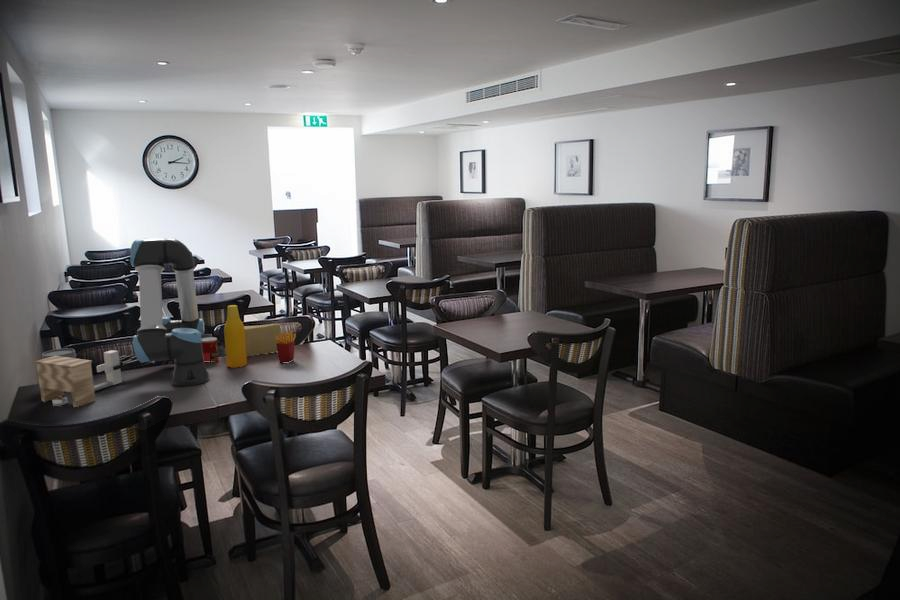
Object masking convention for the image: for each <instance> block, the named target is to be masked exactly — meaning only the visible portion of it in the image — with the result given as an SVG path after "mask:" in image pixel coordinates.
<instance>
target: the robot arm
mask: <svg viewBox="0 0 900 600" xmlns="http://www.w3.org/2000/svg"><path fill="white" fill-rule="evenodd" d="M129 258H130V259H129V261H130V265H131V267H134V271H136V272H137V273H138V280H139V281H138V282H139V284H138V285H139V286H138V287H139V307H140V309H139V311H140V314H139V315H140V327H139V328H138V329H137V331H136V334H135V335H133V336H132V344H133V351H134V353H133V354H130V355H126V354H123V355H121V356H119V361H120V365H119V363H116V364H113V365H110V366H107V367H105V363H102V364H99V365H97V366H96V372H97V373H101V372H103V371H104V374H105V375H106V374H107V373H110V372H113V371H116V370H119V369H121V370H123V369H125V370H128V369H131V368H135V367H137V366H145V365H148V364H151V363H152V364H155V362H160V361H161V362H162V361H171V360H174V368H173V373H172V376H171V383H172V385H173V386H177V387H189V386H190V387H191V386H196V385H201V384H204V383H206V382H208V381H209V380H210V374H209V372H208V370H207V366H206V365H205V362H204V361H203V351H202V335H204V333H205V321H204V319H203V318H200V317H199V311H198V310H199V309H198V301H197V293H196V285H195V275H194V269H195V268H196V265H195V264H196V263H195V259H194V256H193V254H192V251H190V249H189V248H188V247H187V245H185V244H184V243H183V242H182V241H180V240H178V239H176V238H171V237H170V238H169V237H167V238H143V239H135V240H134V241H133V242H132V244H131V246H130V251H129ZM166 265H171V269H172V270H173V271H174V273H175V274H174V275H175V282H176V289H177V297H178V304H179V311H180V316H181V317H180V318H181V319H179V320H178V319H177V320H171V318H170V316H163V296H162V295H163V293H162V273H163V272H164V270H165V266H166Z"/></svg>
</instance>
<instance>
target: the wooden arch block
mask: <svg viewBox="0 0 900 600" xmlns="http://www.w3.org/2000/svg"><path fill="white" fill-rule="evenodd" d="M119 352H120V351H119V350H113V349H111V350H108V351H107V350H106V351H103V361H104V364H105V367H107V366H110V365H113V364H116V363H119V365H120V361H119V357H120V354H119ZM121 370H122V369H119V370H116V371H113V372H110V373H107V374H106V373H105V377H106V381H104V382H102V383H99V384H95V385H94V392H97V391H100V390H102V389H104V388H108V387H111V386H114V385H117V384H121V383H123V378H122V371H121Z"/></svg>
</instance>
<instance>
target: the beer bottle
mask: <svg viewBox="0 0 900 600" xmlns="http://www.w3.org/2000/svg"><path fill="white" fill-rule="evenodd" d="M226 315H227V317H226V321H225V323H224V327H223V335H224V347H225V360H226V366H227V368H229V367H231V368H230V369H238V368H237V367H240V368H243V366H244V367H246V366H247V365H246V364H248V359H247V358H248V357H247V356H246V343H245V330H244V326H245V325H244V324H243V322H242V320H241V318H240V314H239V309H238V305H236V304H231V305H228V306H227V314H226ZM245 365H246V366H245Z"/></svg>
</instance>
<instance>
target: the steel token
mask: <svg viewBox="0 0 900 600" xmlns="http://www.w3.org/2000/svg"><path fill="white" fill-rule="evenodd" d="M51 401H52V406H53V407H54V406H59V407H62V406H61V405H64V404H66V403H68V404H69V402H68V401H69V400H68V397H67V396H62V397H57V398H54V399H52V400H51ZM66 405H67V404H66ZM64 406H65V405H64Z"/></svg>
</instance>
